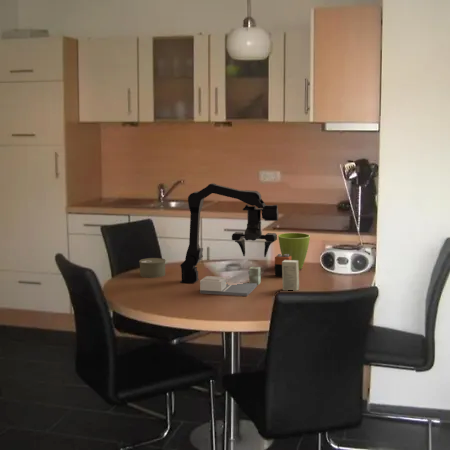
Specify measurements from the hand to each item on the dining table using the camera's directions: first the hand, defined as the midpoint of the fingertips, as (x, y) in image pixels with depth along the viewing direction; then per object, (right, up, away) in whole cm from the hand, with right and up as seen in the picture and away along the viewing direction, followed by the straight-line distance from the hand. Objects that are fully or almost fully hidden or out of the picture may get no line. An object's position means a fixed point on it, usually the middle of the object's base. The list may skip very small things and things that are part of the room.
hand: (254, 256), depth 289 cm
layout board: (-11, -14, -8) cm, 19 cm away
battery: (+14, -10, +16) cm, 23 cm away
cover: (-18, -13, -13) cm, 25 cm away
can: (-46, -10, +21) cm, 52 cm away
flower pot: (+20, -7, +30) cm, 37 cm away
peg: (0, -12, +2) cm, 12 cm away
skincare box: (+15, -14, -9) cm, 22 cm away
